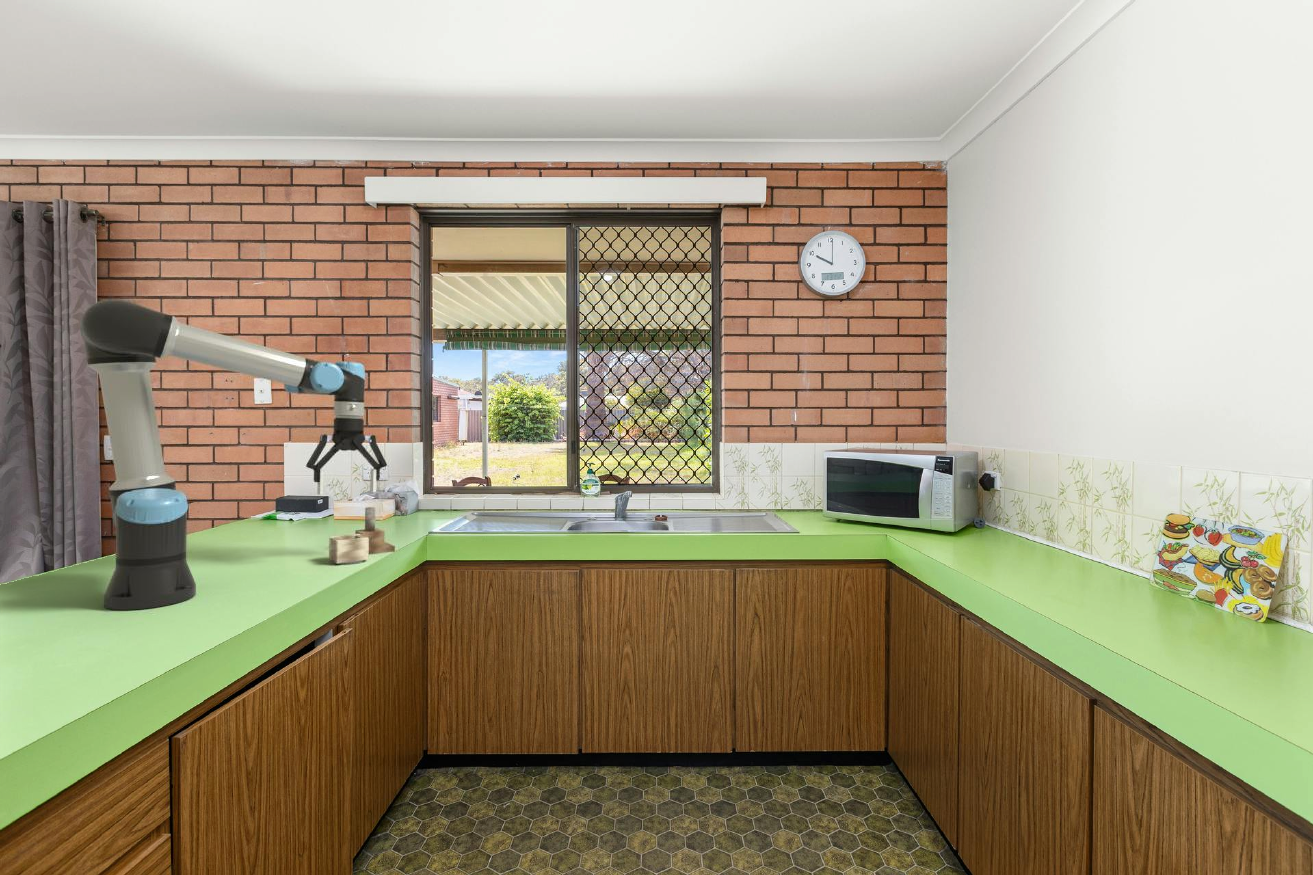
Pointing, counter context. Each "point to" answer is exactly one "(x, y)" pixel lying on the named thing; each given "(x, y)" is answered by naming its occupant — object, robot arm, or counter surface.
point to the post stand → (374, 534)
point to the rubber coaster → (347, 562)
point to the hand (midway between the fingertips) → (347, 493)
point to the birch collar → (348, 548)
